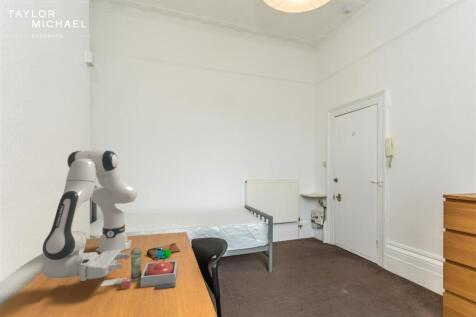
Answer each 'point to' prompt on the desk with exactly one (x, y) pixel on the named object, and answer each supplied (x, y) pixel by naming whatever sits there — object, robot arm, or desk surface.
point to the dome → (160, 268)
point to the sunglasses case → (171, 248)
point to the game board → (148, 279)
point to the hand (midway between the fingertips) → (125, 260)
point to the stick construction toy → (162, 254)
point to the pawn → (136, 264)
